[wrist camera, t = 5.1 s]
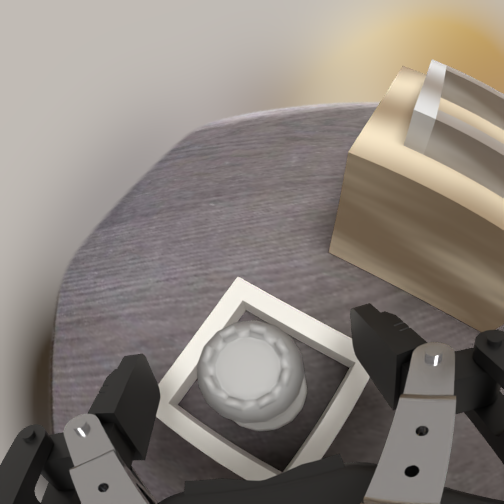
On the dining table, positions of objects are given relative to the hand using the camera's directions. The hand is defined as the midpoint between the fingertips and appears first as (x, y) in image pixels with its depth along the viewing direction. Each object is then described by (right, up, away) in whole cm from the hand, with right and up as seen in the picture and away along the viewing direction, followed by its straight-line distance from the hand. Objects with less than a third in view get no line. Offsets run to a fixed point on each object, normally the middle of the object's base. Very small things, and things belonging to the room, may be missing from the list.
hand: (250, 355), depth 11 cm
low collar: (+1, -3, +4) cm, 5 cm away
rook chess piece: (+1, -3, +4) cm, 5 cm away
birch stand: (+13, +6, +8) cm, 16 cm away
